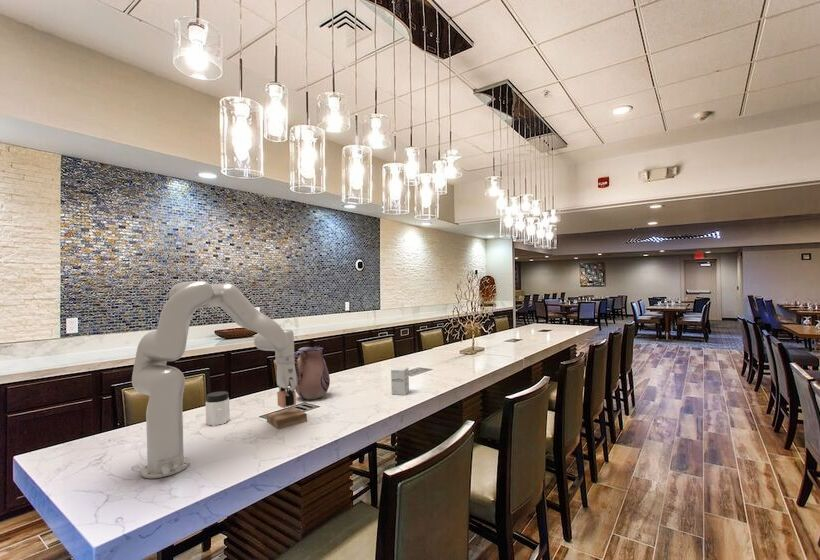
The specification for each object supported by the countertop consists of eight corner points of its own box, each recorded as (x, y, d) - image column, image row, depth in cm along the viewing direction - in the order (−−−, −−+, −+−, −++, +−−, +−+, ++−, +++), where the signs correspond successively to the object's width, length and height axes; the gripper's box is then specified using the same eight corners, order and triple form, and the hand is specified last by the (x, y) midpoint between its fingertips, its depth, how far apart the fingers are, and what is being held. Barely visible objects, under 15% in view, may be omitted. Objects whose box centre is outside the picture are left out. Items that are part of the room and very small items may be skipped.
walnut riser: (307, 421, 160) (306, 413, 160) (278, 428, 152) (278, 420, 152) (294, 414, 169) (294, 407, 169) (267, 421, 161) (266, 414, 161)
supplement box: (391, 395, 195) (390, 369, 195) (396, 391, 202) (395, 366, 202) (405, 395, 192) (404, 370, 193) (409, 391, 200) (408, 367, 200)
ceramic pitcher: (336, 393, 202) (334, 345, 203) (315, 405, 182) (314, 351, 182) (306, 392, 207) (304, 345, 207) (283, 403, 186) (281, 351, 187)
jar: (207, 427, 157) (206, 397, 157) (205, 422, 163) (204, 393, 164) (231, 422, 161) (230, 393, 162) (228, 417, 168) (227, 390, 169)
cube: (296, 404, 160) (295, 391, 160) (283, 407, 157) (282, 394, 157) (290, 402, 164) (289, 389, 164) (277, 405, 161) (277, 391, 161)
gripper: (302, 360, 157) (304, 405, 156) (285, 356, 170) (287, 397, 169) (284, 363, 152) (286, 410, 152) (268, 358, 165) (269, 401, 165)
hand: (286, 403), depth 160 cm, fingers closed on cube, 5 cm apart
